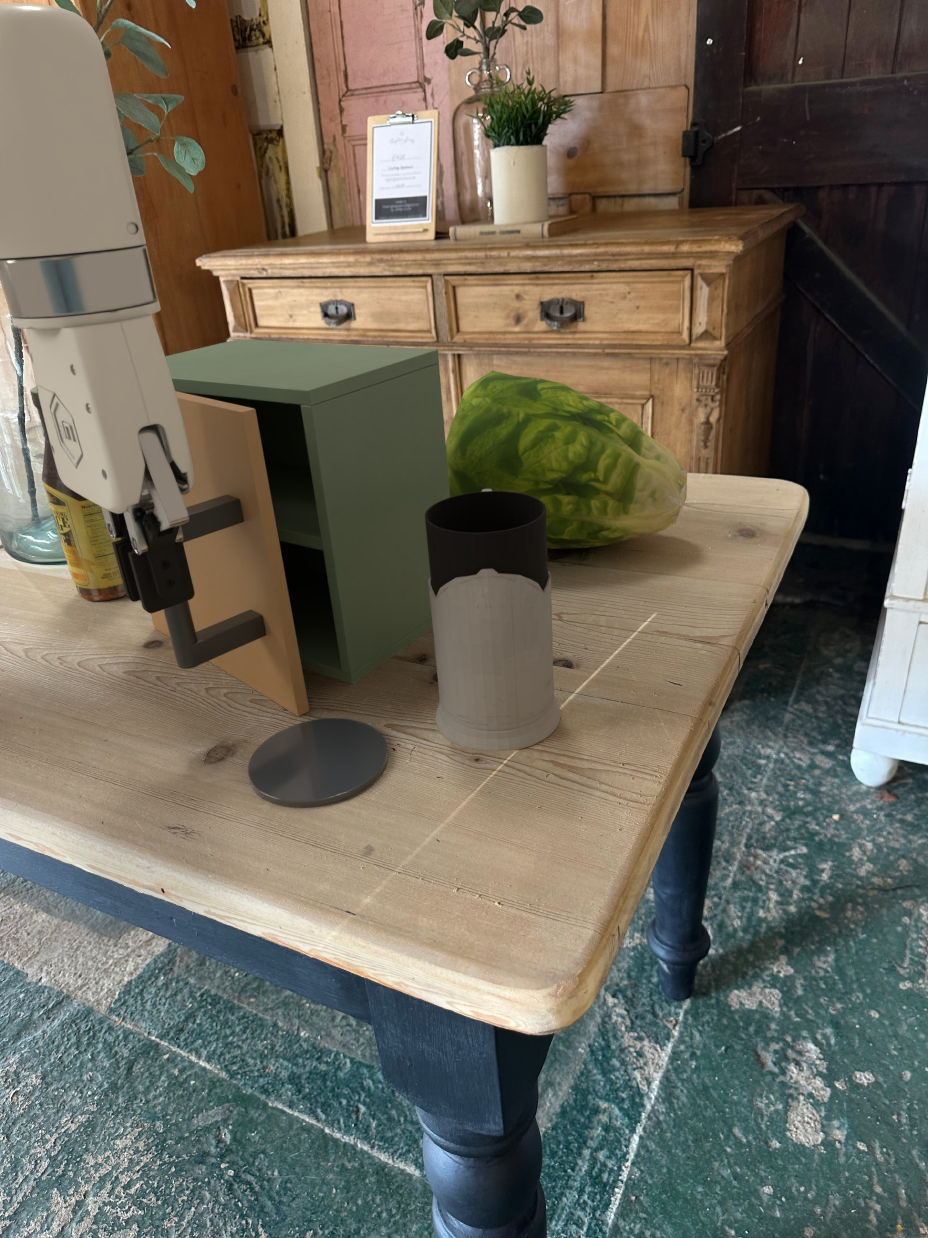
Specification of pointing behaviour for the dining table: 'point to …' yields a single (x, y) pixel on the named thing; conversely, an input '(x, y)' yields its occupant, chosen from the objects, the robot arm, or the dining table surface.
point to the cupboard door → (233, 560)
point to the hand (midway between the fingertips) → (161, 597)
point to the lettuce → (564, 460)
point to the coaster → (317, 763)
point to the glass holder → (492, 620)
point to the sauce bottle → (80, 531)
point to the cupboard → (341, 483)
